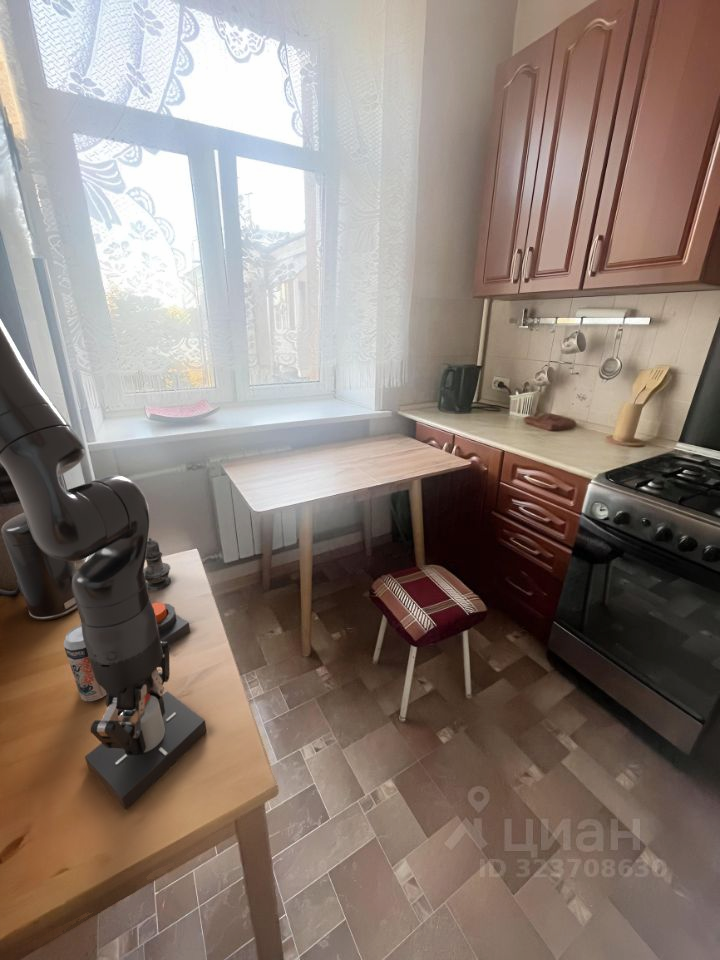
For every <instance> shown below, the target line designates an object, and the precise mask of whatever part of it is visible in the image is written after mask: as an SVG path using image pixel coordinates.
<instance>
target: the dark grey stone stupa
mask: <svg viewBox="0 0 720 960" xmlns="http://www.w3.org/2000/svg"><path fill="white" fill-rule="evenodd" d="M162 556H163V552H161V551H160V545H159V542H158V541H157V540H155V539H152V537H148V541H147V549H146V558H145V562H146V566H145V567H144V575H145V579H146V584H147V588H148V591H160V590H163V589H165V588H168V586H169V585H171V582H172V578H171V577H169V574H170V570H171V565H170V564H169V563H166V562H163V559H162Z"/></svg>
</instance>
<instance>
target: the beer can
mask: <svg viewBox="0 0 720 960" xmlns="http://www.w3.org/2000/svg"><path fill="white" fill-rule="evenodd" d="M63 647H64V650H65V654H66V657H67V661H68V662H69V666H70V669H71V673H72V675H73V677H74V678H73V679H74V682H75V684H76V687H77V691H78V694H79V696H80V698H81V700H83V701H85V702H93V701H98V700H100V699H102V698H103V697H106V696H107V693H106V691H105V690H104V688H102V687H101V686H100V685H99V684H98V683H97V681H96V679H95V676H94V673H93V670H92V666H91V663H90V659H89V656H88V653H87V649H86V646H85V643H84V639H83V634H82V624H80V625H78V626H76V627H73V628H72V629H70V630H69V632H67V634H66V635H65V638H64V641H63Z"/></svg>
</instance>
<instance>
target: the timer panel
mask: <svg viewBox="0 0 720 960" xmlns="http://www.w3.org/2000/svg"><path fill="white" fill-rule="evenodd" d="M162 696H163V702H164V709H165V714H164V716H163V717H162V719H163V723H164V728H165V734H164V737H163V739H162V740H161V742H160V743H159V744H158V745H157V746H156V747H155V748H153V749H152V750H150V751H147V752H144V753H143V754H142V755H127V754H126V753H125V750H124V749H121V748H106V747H105V746H104V745H103V744H102V743H101V742H100V744H98V745H97V746H96V747H94V748H93V750H91V751H90V752H88V753H87V754H86V755H85V756H84V760H85V762H86V765H87V767H88V770H89V771H90V772H91V773H92V774H93V776H94V777H96V779H97V780H98V781H99V783H100V784H102V785H103V786H104V788H105V789H106V790H107V792H109V793H110V794H111V796H113V798H114V799H115V800H116V801H117V802H118V803H119V804H120V806H122V808H123V809H124V810H126V811H127V810H128V809H129V808H130V807H131V806H132V805H133V804H134V803H135V802H136V801H137V800H139V798H141V797H142V796H143V794H145V793H146V792H147V791H148V790H149V789H150V788H151V787H152V786H153V785H154V784H155V783H156V782H157V781H158V780H159V779H160V778H161V777H162V776H163V775H164V774H165V773H166V772H167V771H168V770H169V769H170V768H171V767H172V766H174V764H176V762H178V761H179V760H180V759H181V757H183V756H184V755H185V754H186V753H187V752H188V751H189V750H190V749H191V748H192V747H193V746H194V745H195V744H196V743H197V742H199V741H200V739H202V737H204V736H205V735H206V734H207V732H208V731H207V730H208V729H207V724H206V720H205V719H203V717H201V716H200V715H198V714H197V713H196V712H195V711H194V710H192V709H191V708H190V707H189V706H188V705H186V704H185V703H184V702H182V701H181V700H179V698H177V697H176V696H175V695H173V694H172V693H171V692H169V691H165V693H163V695H162Z"/></svg>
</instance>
